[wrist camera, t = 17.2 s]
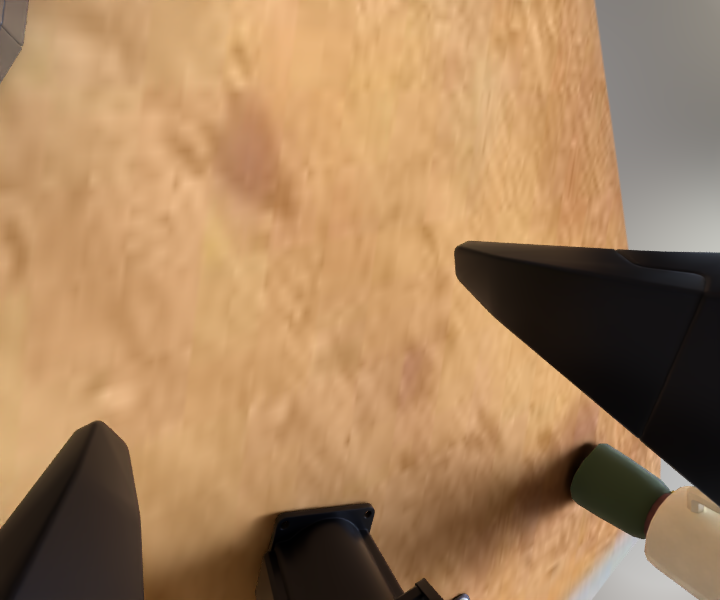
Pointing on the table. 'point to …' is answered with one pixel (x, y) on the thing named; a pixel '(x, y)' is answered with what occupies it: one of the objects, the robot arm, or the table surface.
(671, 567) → the character mug
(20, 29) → the skillet
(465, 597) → the notebook
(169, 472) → the table surface
